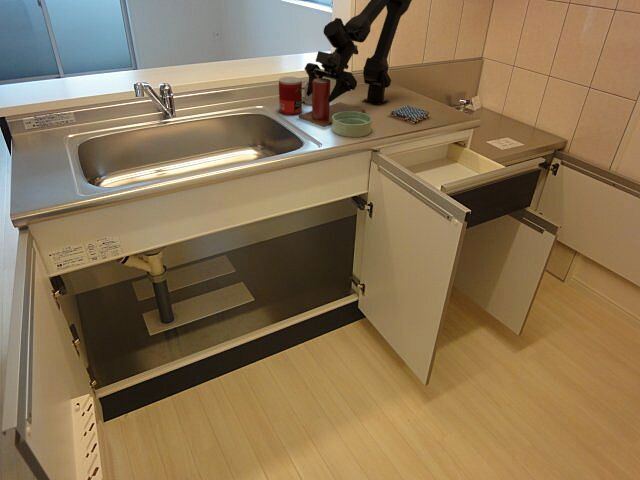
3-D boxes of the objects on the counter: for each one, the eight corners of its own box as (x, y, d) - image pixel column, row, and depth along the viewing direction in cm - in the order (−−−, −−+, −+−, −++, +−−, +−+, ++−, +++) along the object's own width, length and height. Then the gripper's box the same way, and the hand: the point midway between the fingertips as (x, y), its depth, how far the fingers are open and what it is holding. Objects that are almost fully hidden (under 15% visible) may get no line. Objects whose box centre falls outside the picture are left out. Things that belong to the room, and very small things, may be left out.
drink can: (324, 113, 150) (326, 77, 143) (332, 119, 146) (333, 81, 139) (309, 115, 148) (309, 78, 141) (316, 121, 144) (316, 83, 137)
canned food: (299, 116, 152) (298, 83, 146) (276, 113, 153) (275, 81, 147) (304, 108, 158) (304, 77, 152) (282, 107, 159) (281, 75, 153)
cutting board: (339, 106, 162) (340, 102, 161) (365, 114, 155) (365, 110, 154) (298, 119, 149) (298, 115, 148) (323, 129, 142) (324, 124, 141)
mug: (321, 99, 167) (322, 81, 164) (322, 105, 162) (323, 87, 158) (295, 99, 167) (295, 81, 163) (295, 105, 161) (295, 86, 158)
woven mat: (388, 116, 153) (388, 110, 152) (405, 110, 160) (406, 104, 159) (412, 124, 148) (413, 118, 146) (430, 117, 154) (431, 111, 153)
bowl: (349, 121, 148) (350, 108, 146) (378, 131, 141) (380, 118, 139) (323, 130, 141) (324, 117, 138) (353, 142, 134) (354, 128, 131)
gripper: (308, 36, 141) (284, 78, 140) (354, 45, 131) (329, 90, 131) (323, 58, 150) (301, 97, 150) (367, 68, 141) (344, 110, 140)
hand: (317, 98), depth 142 cm, fingers open, 9 cm apart
